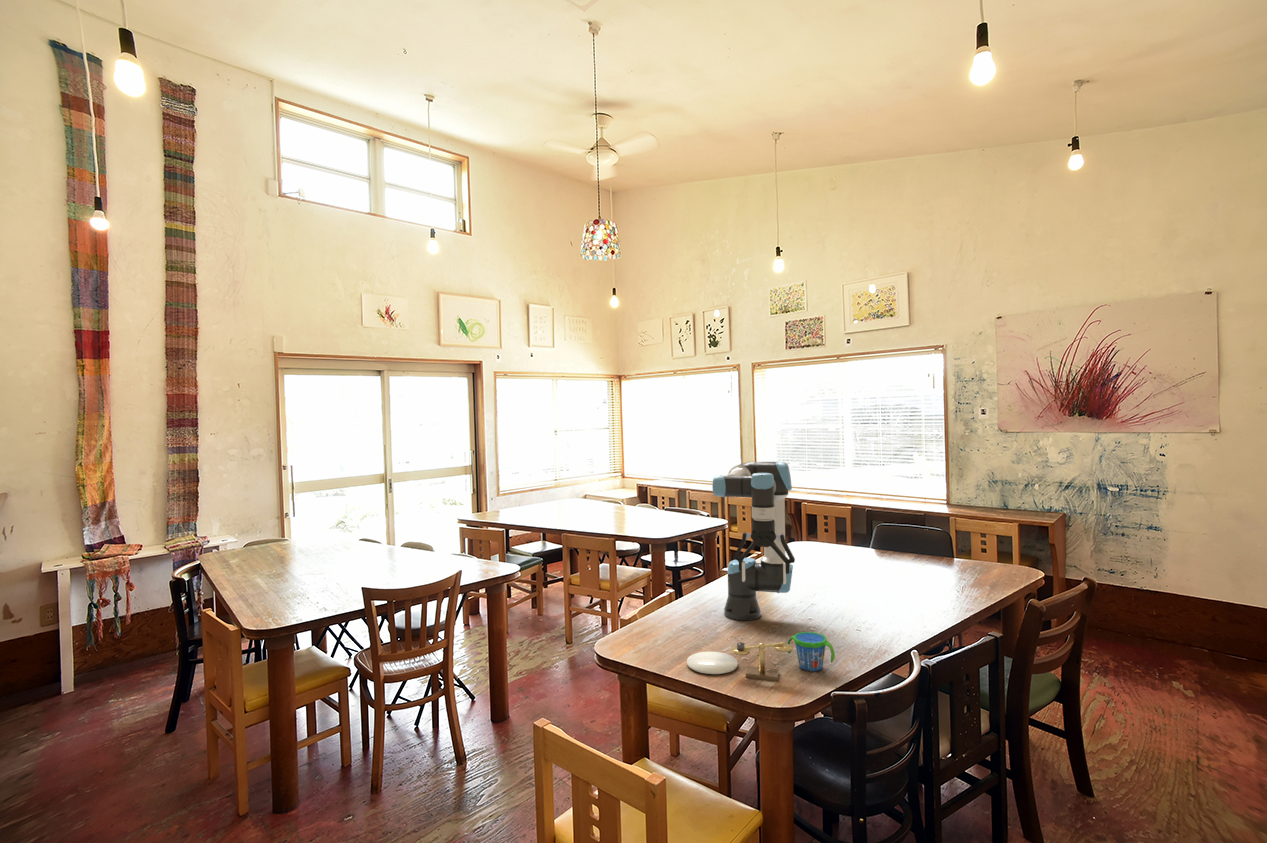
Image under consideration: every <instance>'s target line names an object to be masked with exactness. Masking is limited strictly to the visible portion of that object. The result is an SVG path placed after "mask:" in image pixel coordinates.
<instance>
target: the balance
mask: <svg viewBox="0 0 1267 843" xmlns="http://www.w3.org/2000/svg"><path fill="white" fill-rule="evenodd" d="M787 643H788V642H787ZM787 643H786V642H784V641H782V642H781V641H780V642H773V643H766V644H765V643H764V642H759V643H758V644H756V645H748V646H745V643H744V642H741V641H740V642H737V643H736V646H734V647H731V654H734V655H736V656H747V655H749V654H750V653H751V650H756V649H758V663H759V664H758V666H750V665H748V666H747V667H746V672H745V678H747V679H756V680H757V679H758V680H764V681H765V680H766V681H767V680H768V681H769V680H770V681H776V682H777V681H778V679H779V669H777V668H769V667H766V658H765V657H766V652H765V651H766V648H772V647H773V649H774V650H775V651H776V652H777V651H778V652H780V653H781V652H782V653H788V652H790V651H791V652H792V651H793V650H794V646H793V645H792V644H791V643H790V644H787ZM791 652H790V653H791Z"/></svg>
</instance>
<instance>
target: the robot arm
mask: <svg viewBox="0 0 1267 843" xmlns="http://www.w3.org/2000/svg"><path fill="white" fill-rule="evenodd" d="M711 485H712V494H713V495H714V496H715V497H721V498H751V518H752V520H751V533H749V532H747V531H744V532H743V533H742V536H741V541H740V543H739V545H738V546H737V547H738V548H737V549H736V551H735V553H734V555H733V558H732V559H733V560H731V561H729V563H728V564H727V571H726V572H727V573H726V574H727V598H726V601H725V605H724V609H723V610H724V611H723V612H724V613H723V614H724V616H726V618H727V619H728V618H729V619H731V620H737V621H753V620H756V619H759V618H760V617H761V615H762V614H761V607H760V604H759V602H758V598H757V592H761V593H762V592H763V593H764V592H765V593H777V594H780V593H781V594H787V593H789V592H790V591H791V583H792V578H793V568H794V565H793V564H794V563H795V561H796V558H795V557H794V554H793V552H792V550H791V549H790V547H789V545H788V543H787V541H786V515H785V514H786V509H785V508H786V506H785V504H786V503H785V499H786V497H788V496H789V491H792V489H793V488H792V487H793V486H792V478H791V471H790V467H789V465H788V463H786V462H783V461H747V462H743V463H740V464H737V465H735V466H733V467H732V468H730V470H729V471H728V473H727V474H725V475H715V476H713V479H712V484H711ZM749 538H750V539H751V540H752V543H751V544H750V545H749V547H748V548H746V550H745V551H744V552H743V553H742V554H741V555H740V553H741V551H742V548H744V545H745V544H746V541H747V540H748V539H749ZM756 546H757V547H759V548H762V547H763V554H764V555H763V556H762V557H761V558H760V562H757V560H756V559H755V558H752V557H748V555H749V554H750V553H751V552H752V550H753V549H755V547H756ZM786 555H787V556H788V557H787V556H786Z"/></svg>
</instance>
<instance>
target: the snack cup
mask: <svg viewBox="0 0 1267 843" xmlns="http://www.w3.org/2000/svg"><path fill="white" fill-rule="evenodd" d="M792 640H793V642H794V643H795V650H796V654H797V656H796V657H797V660H798V661H797V662H798V665H799V667H800V669H802V670H804V671H808V672H809V671H810V672H818V671H820V670H822V669H823V666H824V659H825V652H826V646H827V648H829V651H830V654H831V655H830V663H832V664H833V662H834V660H835V659H836V658H835V655H836V653H835V650H834V646H833V645H832V644H831V642H830V641H828V640H827V637H826V636H825V635H823V634H821V633H820V632H819V633H818V632H812V631H802V632H797V633H795V634H794V635H792V636H790V637H789V638H788V641H787V644H790V645H791V641H792ZM791 652H792V651H790V652H787V653H788V654H791Z"/></svg>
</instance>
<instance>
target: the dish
mask: <svg viewBox="0 0 1267 843" xmlns="http://www.w3.org/2000/svg"><path fill="white" fill-rule="evenodd" d="M738 663H739V662H738V660H737V659H736V657H734V656H733V655H730V654H728V653H724V652H721V651H720V652H719V651H700V652H695V653H694V654H691V655H690V656H688V657H687V660H686V664H687V666H688V668H689V669H691V670H692V671H695V672H698V673H701V674H707V675H721V674H727V673H731V672H733V671H735V670H736V669H737V668H738Z"/></svg>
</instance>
